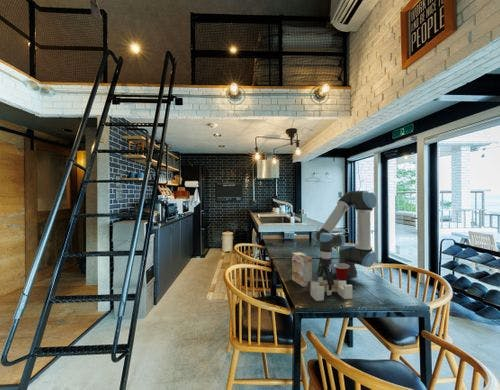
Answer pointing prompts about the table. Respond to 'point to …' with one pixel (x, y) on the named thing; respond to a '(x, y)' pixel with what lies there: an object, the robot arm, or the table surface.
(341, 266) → the plastic cup
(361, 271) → the table surface
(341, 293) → the foot post
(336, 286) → the rail
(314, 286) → the head post
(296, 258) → the coffeecake box
